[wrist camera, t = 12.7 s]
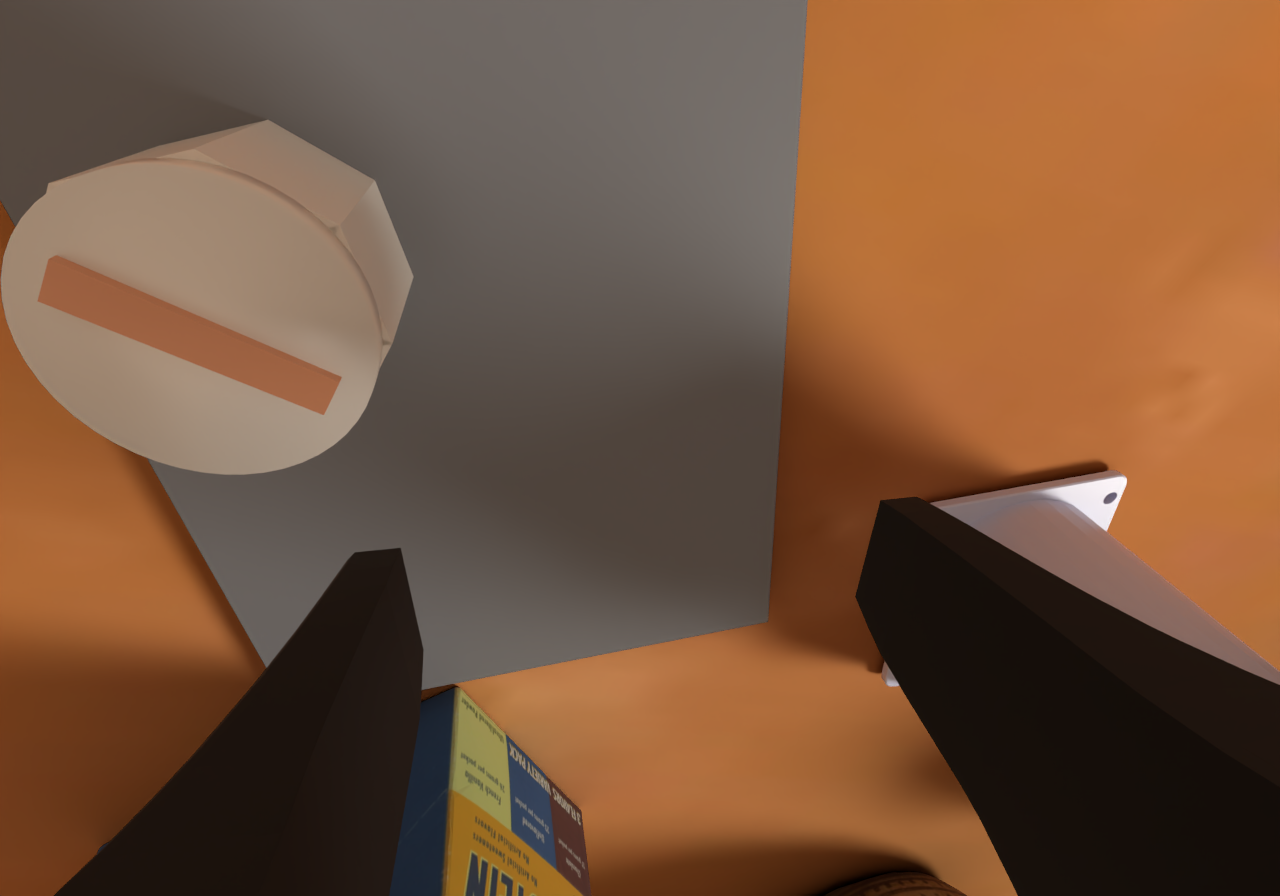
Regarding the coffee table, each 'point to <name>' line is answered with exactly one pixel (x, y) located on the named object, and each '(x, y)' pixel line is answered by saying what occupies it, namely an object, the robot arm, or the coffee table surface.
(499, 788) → the protein box
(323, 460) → the base
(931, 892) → the ceramic vessel
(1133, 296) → the coffee table surface
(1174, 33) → the coffee table surface
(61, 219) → the cap
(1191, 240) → the coffee table surface
